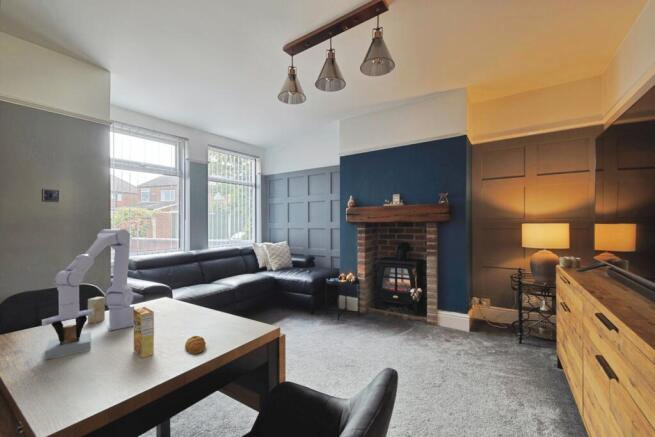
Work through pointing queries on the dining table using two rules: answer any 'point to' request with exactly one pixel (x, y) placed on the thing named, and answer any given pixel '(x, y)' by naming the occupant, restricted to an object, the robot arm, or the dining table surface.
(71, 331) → the peg
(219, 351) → the dining table surface
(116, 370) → the dining table surface
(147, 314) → the candy box
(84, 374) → the dining table surface
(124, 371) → the dining table surface
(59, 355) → the socket block
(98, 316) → the box
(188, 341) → the pastry
